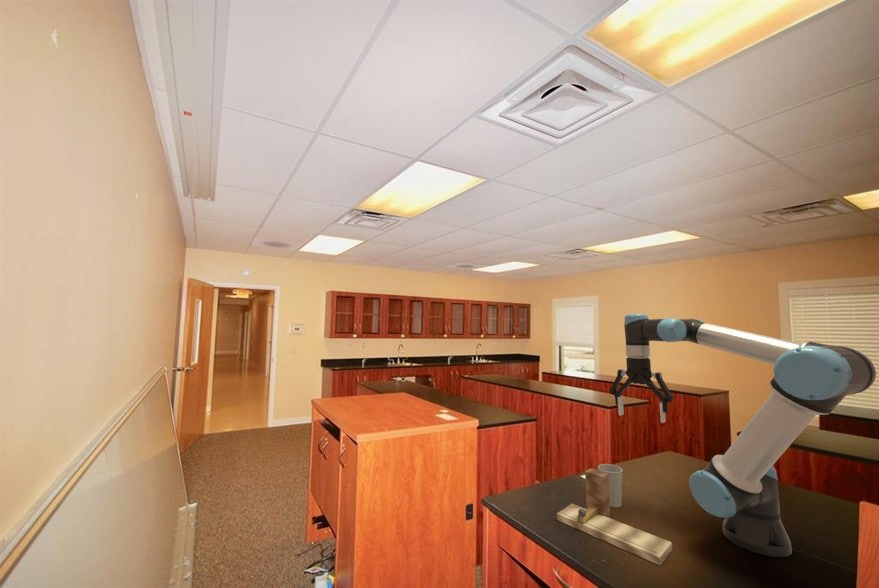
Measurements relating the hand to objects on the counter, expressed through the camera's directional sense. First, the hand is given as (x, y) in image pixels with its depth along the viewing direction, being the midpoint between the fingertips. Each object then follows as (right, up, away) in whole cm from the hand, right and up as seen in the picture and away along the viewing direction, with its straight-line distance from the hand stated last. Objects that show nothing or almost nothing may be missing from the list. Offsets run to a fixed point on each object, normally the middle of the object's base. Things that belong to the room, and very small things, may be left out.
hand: (641, 418), depth 126 cm
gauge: (-22, -30, -10) cm, 38 cm away
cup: (-9, -31, +2) cm, 33 cm away
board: (-19, -29, -17) cm, 39 cm away
